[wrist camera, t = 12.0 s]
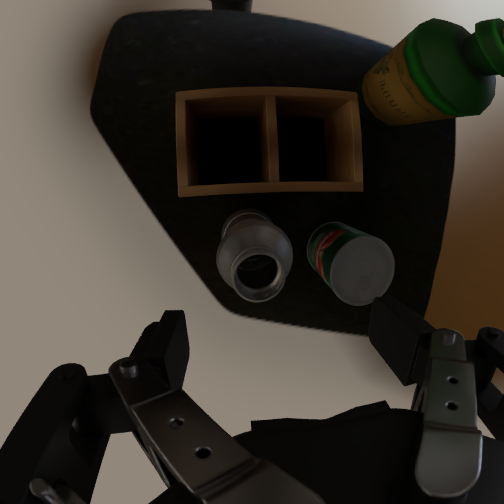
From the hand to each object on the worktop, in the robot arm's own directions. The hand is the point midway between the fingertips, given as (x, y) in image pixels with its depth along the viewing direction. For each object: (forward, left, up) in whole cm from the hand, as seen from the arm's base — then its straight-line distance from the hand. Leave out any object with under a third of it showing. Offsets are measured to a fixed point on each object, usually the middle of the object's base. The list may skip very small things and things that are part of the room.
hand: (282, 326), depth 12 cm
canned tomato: (+4, +12, -28) cm, 31 cm away
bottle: (-18, +20, -28) cm, 39 cm away
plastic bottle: (+1, 0, -28) cm, 28 cm away
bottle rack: (-10, +2, -28) cm, 30 cm away
